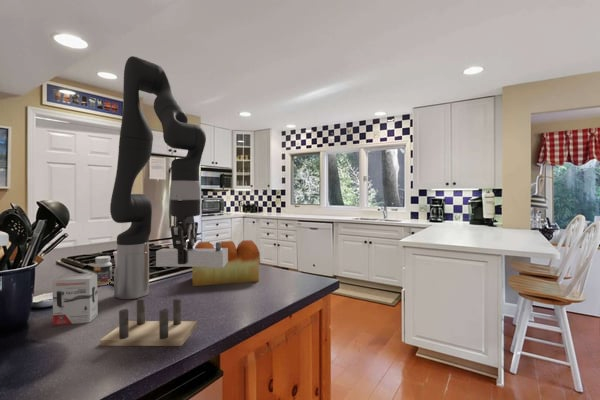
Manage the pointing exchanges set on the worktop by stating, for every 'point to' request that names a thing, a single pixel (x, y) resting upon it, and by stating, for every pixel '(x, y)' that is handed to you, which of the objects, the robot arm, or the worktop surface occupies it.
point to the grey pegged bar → (193, 257)
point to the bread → (230, 265)
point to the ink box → (75, 298)
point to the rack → (150, 328)
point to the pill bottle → (103, 270)
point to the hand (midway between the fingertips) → (185, 261)
